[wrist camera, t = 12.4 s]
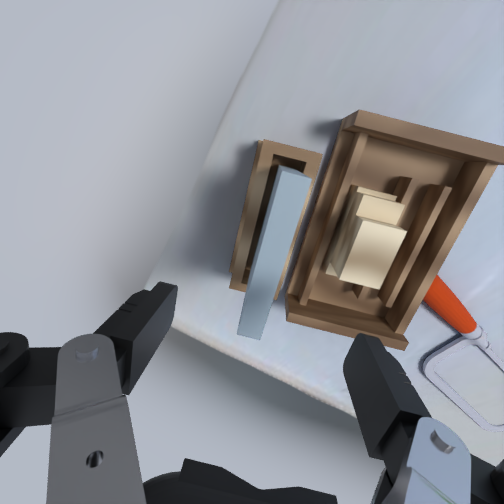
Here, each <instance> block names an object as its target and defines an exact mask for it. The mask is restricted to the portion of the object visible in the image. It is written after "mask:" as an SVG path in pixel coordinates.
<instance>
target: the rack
mask: <svg viewBox="0 0 504 504" xmlns="http://www.w3.org/2000/svg"><path fill="white" fill-rule="evenodd" d="M498 165H504V147H503V146H499V145H496V144H492V143H488V142H484V141H480V140H476V139H472V138H468V137H464V136H460V135H457V134H453V133H449V132H445V131H441V130H437V129H433V128H429V127H425V126H421V125H418V124H414V123H410V122H406V121H402V120H398V119H394V118H390V117H386V116H382V115H379V114H375V113H371V112H367V111H363V110H358V111H356V112H354V113H352V114H350V115H349V116H347V117H345V118H343V120H342V123H341V126H340V129H339V132H338V135H337V138H336V141H335V144H334V147H333V150H332V153H331V156H330V159H329V162H328V165H327V168H326V171H325V174H324V178H323V181H322V184H321V187H320V190H319V193H318V196H317V199H316V202H315V205H314V208H313V211H312V214H311V217H310V220H309V223H308V226H307V229H306V233H305V236H304V239H303V242H302V245H301V248H300V251H299V254H298V257H297V260H296V263H295V266H294V269H293V272H292V275H291V278H290V281H289V284H288V287H287V291H286V294H285V309H286V321H288V322H292V323H296V324H300V325H304V326H308V327H312V328H316V329H320V330H323V331H327V332H331V333H335V334H339V335H343V336H347V337H351V338H355V337H356V336H357V334H359V333H363V334H367V335H371V336H375V337H378V338H379V339H380V340H381V342H382V344H383V345H384V346H387V347H391V348H395V349H399V350H403V351H404V350H405V349H406V347H407V345H408V343H409V342H408V341H407V339H406V338H405V337H404V335H403V334H404V332H405V331H406V329H407V327H408V325H409V323H410V322H411V320H412V318H413V316H414V314H415V313H416V311H417V309H418V307H419V305H420V304H421V302H422V300H423V298H424V296H425V295H426V293H427V291H428V289H429V288H430V286H431V284H432V282H433V280H434V279H435V277H436V275H437V273H438V271H439V270H440V268H441V266H442V264H443V262H444V261H445V259H446V257H447V255H448V254H449V252H450V250H451V248H452V246H453V245H454V243H455V241H456V239H457V237H458V236H459V234H460V232H461V230H462V228H463V227H464V225H465V223H466V221H467V219H468V218H469V216H470V214H471V212H472V211H473V209H474V207H475V205H476V203H477V202H478V200H479V198H480V196H481V194H482V193H483V191H484V189H485V187H486V185H487V184H488V182H489V180H490V178H491V177H492V175H493V173H494V171H495V169H496V168H497V166H498ZM352 184H353V185H357V186H361V187H364V188H368V189H372V190H376V191H380V192H384V193H388V194H391V195H394V196H397V198H396V200H395V201H396V202H398V203H401V204H404V205H405V207H404V209H403V211H402V213H401V216H400V218H399V220H398V222H397V224H396V225H397V226H398V227H400V228H402V229H404V230H405V231H407V233H406V235H405V237H404V239H403V241H402V243H401V245H400V247H399V250H398V252H397V254H396V256H395V258H394V260H393V262H392V264H391V266H390V268H389V270H388V273H387V275H386V277H385V279H384V281H383V283H382V285H381V287H380V289H375V288H371V287H367V286H363V285H359V284H355V283H351V282H347V281H343V280H339V278H338V277H337V276H333V275H329V274H325V271H324V269H323V267H322V265H323V262H324V260H325V257H326V254H327V252H328V249H329V246H330V244H331V241H332V238H333V236H334V233H335V230H336V227H337V225H338V222H339V219H340V217H341V214H342V211H343V209H344V206H345V203H346V200H347V198H348V195H349V192H350V190H351V187H352Z"/></svg>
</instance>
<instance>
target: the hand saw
mask: <svg viewBox="0 0 504 504" xmlns="http://www.w3.org/2000/svg"><path fill="white" fill-rule="evenodd" d="M423 300H424V301H425V302H426V303H427V304H428V305H429V306H430V307H431V308H432V309H433V310H434V311H435V312H436V313H437V314H439V315H440V316H441V317H442V318H443V319H444V320H445V321H446V322H448V323H449V324H450V325H451V326H452V327H454V328H455V329H456V330H457V331H459V332H460V333H461V334H462V335H463V336H462V337H459V338H457V339H456V340H454V341H452V342H451V343H449V344H447V345H446V346H444V347H442V348H441V349H439V350H437V351H436V352H434V353H432V354H431V355H430V356H428V357H427V358H426V360H425V361H424V364H423V372H424V373H425V375H426V376H427V378H428V379H429V380H430V381H431V382H433V383H434V384H435V385H436V386H437V387H438V388H439V389H440V390H441V391H442V392H443V393H445V394H446V395H447V396H448V397H449V398H450V399H451V400H452V401H453V402H454V403H455V404H457V405H458V406H459V407H460V408H461V409H462V410H463V411H464V412H465V413H466V414H467V415H469V416H470V417H471V418H472V419H473V420H474V421H475V422H476V423H477V424H478V425H479V426H480V427H482V428H483V429H485V430H487V431H492V432H499V431H504V424H502V425H492V424H489V423H488V422H487V421H486V420H485V419H484V418H483V417H482V416H481V415H480V414H479V413H477V412H476V411H475V410H474V409H473V408H472V407H471V406H470V405H469V404H468V403H467V402H466V401H465V400H464V399H463V398H462V397H461V396H460V395H459V394H458V393H456V392H455V391H454V390H453V389H452V388H451V387H450V386H449V385H448V384H447V383H446V382H445V381H444V380H443V379H441V378H440V377H439V376H438V375H437V374H436V373H435V372H434V367H435V365H436V364H437V363H438V362H439V361H441V360H443V359H445V358H446V357H448V356H450V355H452V354H453V353H455V352H457V351H459V350H460V349H462V348H464V347H466V346H468V345H477V346H478V347H479V348H480V349H482V350H484V351H485V352H486V353H487V354H488V355H489V356H490V357H491V358H492V359H493V360H494V361H495V362H496V363H497V364H498V365H499V367H500V368H501V369H502V370H503V371H504V363H503V362H502V361H501V359H500V358H499V357H498V356H497V355H496V354H495V353H494V352H493V351H492V350H491V349H490V348H491V344H490V343H489V342H488V341H487V336H488V335H487V333H486V332H485V331H484V330H483V329H482V328H481V327H480V326H479V325H478V324H477V323H476V322H475V321H474V319H473V318H472V316H471V315H470V314H469V312H468V311H467V309H466V308H465V307H464V306H463V304H462V303H461V302H460V301H459V299H458V298H457V297H456V296H455V295H454V293H453V292H452V291H451V290H450V289H449V287H448V286H447V285H446V284H445V283H444V282H443V281H442V280H441V279H440V277H439V276H438V275H436V277H435V279H434V280H433V282H432V284H431V286H430V288H429V289H428V291H427V293H426V295H425V296H424V298H423Z"/></svg>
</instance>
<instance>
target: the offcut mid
mask: <svg viewBox="0 0 504 504" xmlns="http://www.w3.org/2000/svg"><path fill="white" fill-rule="evenodd" d="M404 207H405V205H404V204H401V203H398V202H396V201H392V200H388V199H384V198H380V197H376V196H372V195H368V194H365V193H361V192H356V195H355V198H354V200H353V203H352V205H351V208H350V211H349V213H348V216H347V219H346V221H345V224H344V226H343V229H342V232H341V234H340V237H339V240H338V242H337V245H336V247H335V250H334V253H333V255H332V258H331V261H330V263H331V265H332V267H333V269H335V267H336V264H337V262H338V259H339V257H340V254H341V252H342V249H343V246H344V244H345V241H346V239H347V236H348V234H349V231H350V229H351V226H352V223H353V221H354V218H355V216H356V215H358V216H362V217H366V218H370V219H373V220H377V221H381V222H385V223H389V224H393V225H396V224H397V222H398V220H399V218H400V216H401V213H402V211H403V209H404Z"/></svg>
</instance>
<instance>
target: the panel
mask: <svg viewBox="0 0 504 504" xmlns="http://www.w3.org/2000/svg"><path fill="white" fill-rule="evenodd" d="M311 181H312V178H310V177H308V176H306V175H305V174H303V173H301V172H299V171H298V170H296V169H294V168H290V167H286V166H283V165H278V169H277V172H276V176H275V180H274V183H273V187H272V191H271V194H270V198H269V202H268V206H267V209H266V213H265V217H264V220H263V224H262V228H261V231H260V235H259V239H258V242H257V246H256V250H255V254H254V257H253V261H252V265H251V270H250V275H249V279H248V284H247V289H246V293H245V298H244V303H243V307H242V312H241V317H240V321H239V326H238V331H237V335H241V336H245V337H249V338H253V339H257V340H260V339H261V336H262V333H263V330H264V327H265V323H266V320H267V317H268V314H269V311H270V308H271V305H272V302H273V299H274V296H275V292H276V289H277V286H278V283H279V280H280V277H281V274H282V271H283V268H284V265H285V261H286V258H287V255H288V252H289V249H290V246H291V243H292V240H293V237H294V234H295V230H296V227H297V224H298V221H299V218H300V215H301V212H302V209H303V206H304V203H305V199H306V196H307V193H308V190H309V187H310V184H311Z"/></svg>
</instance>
